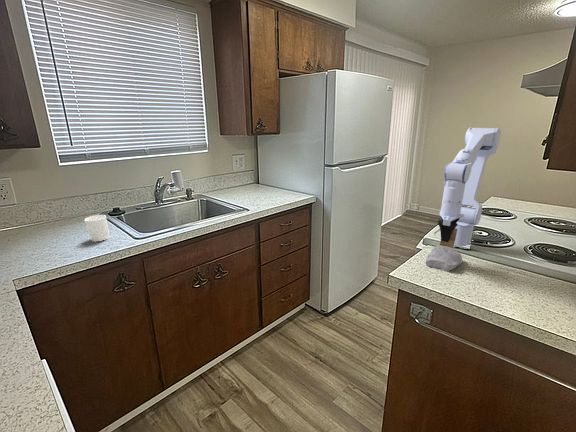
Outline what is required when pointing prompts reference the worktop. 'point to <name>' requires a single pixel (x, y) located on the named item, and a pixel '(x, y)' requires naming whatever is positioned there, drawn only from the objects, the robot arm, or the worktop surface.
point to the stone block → (443, 258)
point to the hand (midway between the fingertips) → (445, 238)
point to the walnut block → (450, 240)
